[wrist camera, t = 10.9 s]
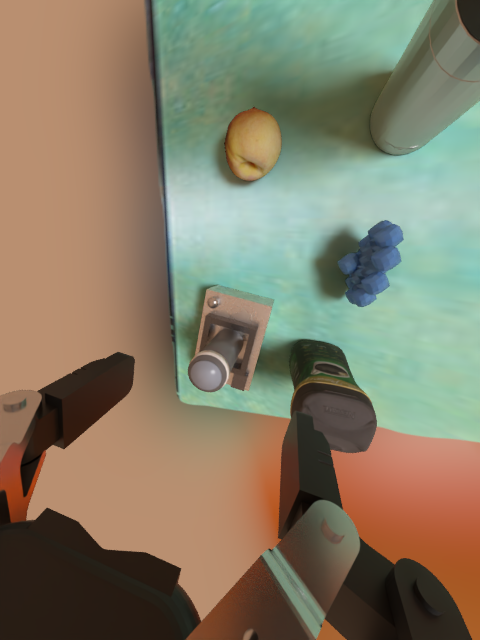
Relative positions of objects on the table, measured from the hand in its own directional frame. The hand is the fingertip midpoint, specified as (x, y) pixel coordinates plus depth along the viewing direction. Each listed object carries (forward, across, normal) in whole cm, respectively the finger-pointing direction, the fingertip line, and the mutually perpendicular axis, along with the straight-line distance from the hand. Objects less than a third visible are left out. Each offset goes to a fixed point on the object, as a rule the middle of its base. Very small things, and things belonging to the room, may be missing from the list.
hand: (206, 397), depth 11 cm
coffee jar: (+32, -12, +10) cm, 36 cm away
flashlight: (+26, +4, +9) cm, 28 cm away
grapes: (+32, -12, -8) cm, 35 cm away
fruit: (+32, +7, -20) cm, 39 cm away
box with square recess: (+32, +4, +9) cm, 34 cm away
